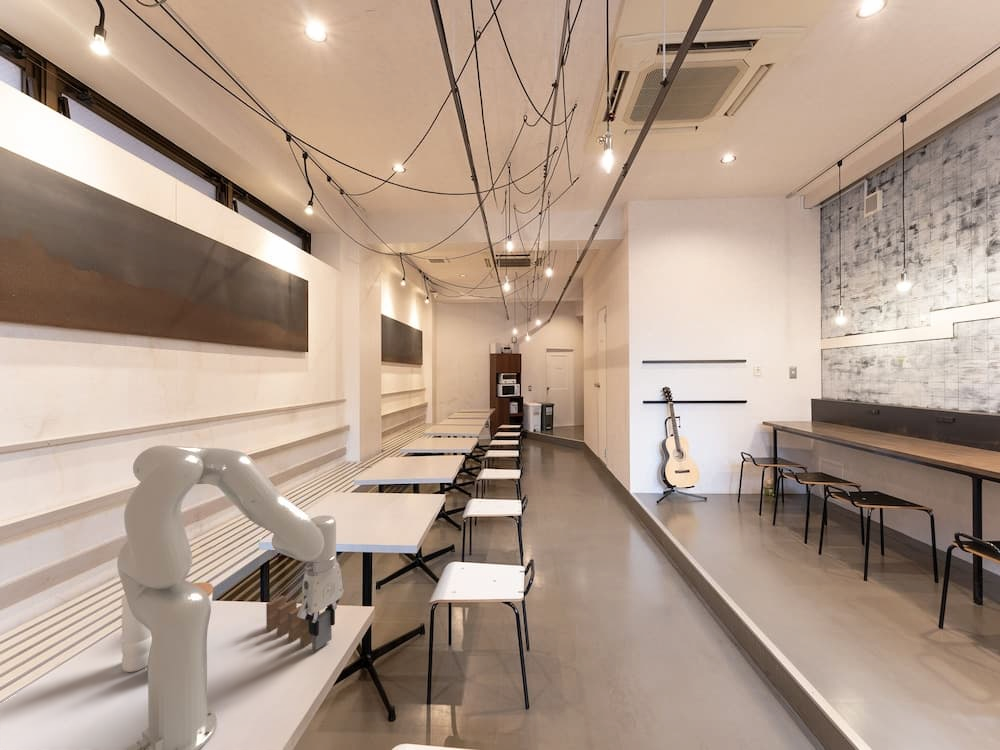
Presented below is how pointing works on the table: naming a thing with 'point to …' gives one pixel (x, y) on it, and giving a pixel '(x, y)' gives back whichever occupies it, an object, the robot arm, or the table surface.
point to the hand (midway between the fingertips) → (322, 628)
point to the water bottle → (134, 641)
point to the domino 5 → (322, 630)
